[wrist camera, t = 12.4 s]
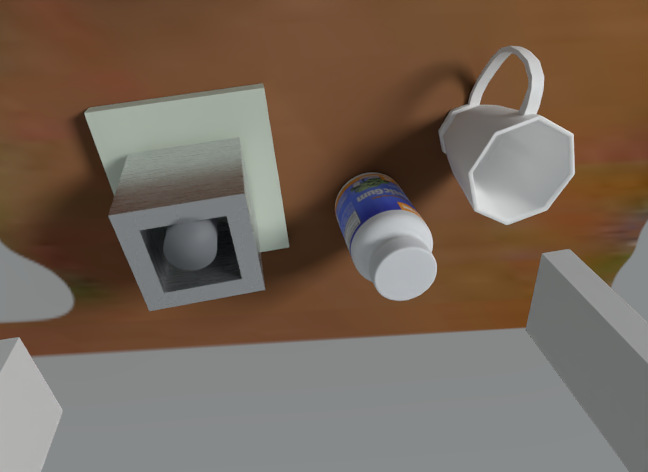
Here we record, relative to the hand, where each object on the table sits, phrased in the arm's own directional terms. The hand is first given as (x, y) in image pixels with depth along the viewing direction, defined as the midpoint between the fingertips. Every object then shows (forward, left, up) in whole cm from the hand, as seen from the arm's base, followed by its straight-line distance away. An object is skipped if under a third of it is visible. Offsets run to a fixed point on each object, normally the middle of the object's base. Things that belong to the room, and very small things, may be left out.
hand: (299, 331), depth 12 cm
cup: (+3, +15, -23) cm, 27 cm away
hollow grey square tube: (+5, -5, -21) cm, 22 cm away
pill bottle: (+9, +7, -23) cm, 25 cm away
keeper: (+5, -5, -23) cm, 23 cm away
